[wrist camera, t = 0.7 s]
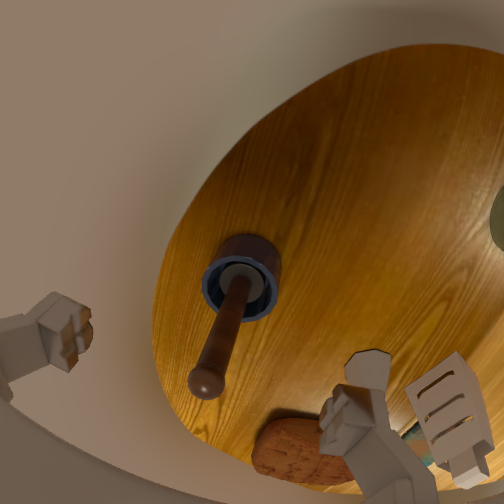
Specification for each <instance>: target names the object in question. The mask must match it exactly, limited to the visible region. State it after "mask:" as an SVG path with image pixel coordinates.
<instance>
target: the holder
mask: <svg viewBox="0 0 504 504" xmlns="http://www.w3.org/2000/svg"><path fill="white" fill-rule="evenodd" d="M231 261H239V262H246V263H249V264H251V265H253V266H255V267H257V268H259V269H260V270H261V271H262V272H263V273H264V274H265V275H266V282H265V286H264V290H263V293H262V295H261V296H260V297H259V298H258V299H257V300H255V301H253V302H250V303H247V304H246V308H245V311H244V314H243V318H242V321H241V322H243V323H245V322H251V321H257V320H259V319H261V318H262V317H264V316H266V315H267V314H269V313H270V312H271V310H272V309H273V307H274V306H275V305H276V303H277V296H278V290H279V283H280V276H281V268H282V265H281V259H280V256H279V254H278V252H277V250H276V249H275V247H274V246H273V245H272V244H271V243H270V242H268V241H267V240H265V239H264V238H262V237H259V236H256V235H252V234H241V235H236V236H233V237H231V238H229V239H228V240H226V241H225V242H224V243H223V244H222V245H221V246H220V248H219V249H218V251H217V253H216V254H215V256H214V257H213V259H212V261H211V262H210V264H209V266H208V267H207V269H206V271H205V273H204V275H203V277H202V293H203V295H204V298H205V300H206V302H207V304H208V305H209V306H210V307H211V308H212V309H213V310H214V311H215V312H216V313H217V314H218V312H219V309H220V307H221V304H222V302H223V300H224V297H225V294H224V293H223V292H222V290H221V288H220V284H219V278H220V275H221V273H222V271H223V269H224V267H225V265H226V263H227V262H231Z"/></svg>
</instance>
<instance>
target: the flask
mask: <svg viewBox="0 0 504 504" xmlns="http://www.w3.org/2000/svg"><path fill="white" fill-rule="evenodd" d="M390 366H391V355H389V354H386V353H383V352H381V351H378V350H371V351H366V352H361V353H355V355H354V356H353V357H352V358H351V360H350V361H349V362H348V363H347V365H346V366H345V373H346V380H347V381H348V383H349V384H350V385H351V386H357V387H364V388H371V389H378V390H382V391H383V393H384V398H385V394H386V388H387V383H388V378H389V374H390ZM387 412H388V411H387ZM388 417H389V412H388Z"/></svg>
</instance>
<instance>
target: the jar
mask: <svg viewBox="0 0 504 504" xmlns="http://www.w3.org/2000/svg"><path fill="white" fill-rule="evenodd" d="M490 229H491V234H492V238H493V240H494V242H495V244H496V245H497V246H498V247H499V248H500V249H501V250H502V251H504V187H503V188H502V189H501V191H500V192H499V193H498V195H497V197H496V199H495V201H494V204H493V207H492V211H491V217H490Z"/></svg>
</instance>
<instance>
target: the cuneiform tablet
mask: <svg viewBox="0 0 504 504" xmlns="http://www.w3.org/2000/svg"><path fill="white" fill-rule="evenodd" d="M322 432H323V430H322V429H321V427H320V426H319V421H316V420H311V419H302V418H285V419H279V420H275V421H272V422H270V423H269V424H268V425H267V426H266V427H265V429H264V431H263V433H262V434H261V436H260V437H259V439H258V440H257V442H256V443H255V446H254V449H253V452H252V455H251V458H252V463H253V466H254V468H255V470H256V471H257V472H258V473H260V474H263V475H267V476H271V477H275V478H277V479H280V480H286V481H291V482H295V483H308V484H309V485H327V486H333V485H339V484H342V483H345V482H349V481H353V480H354V479H355V478H354V477H353V475H352V473H351V471H350V470H349V468H348V466H347V464H346V463H345V461H344V459H343V457H342V456H334V455H326V454H320V453H319V436H320V435H321V434H322Z"/></svg>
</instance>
